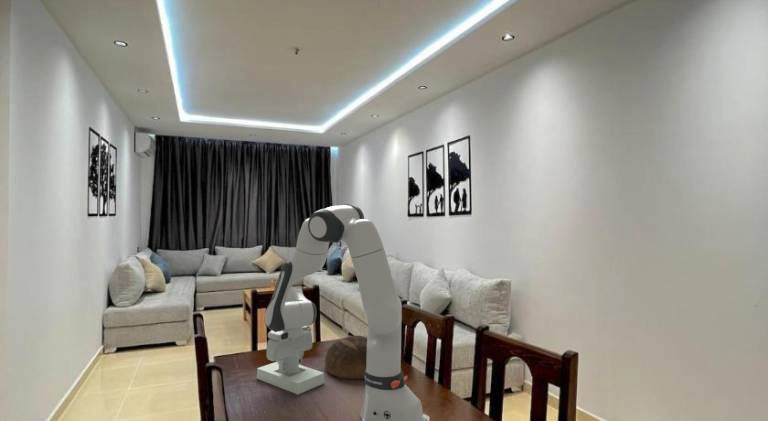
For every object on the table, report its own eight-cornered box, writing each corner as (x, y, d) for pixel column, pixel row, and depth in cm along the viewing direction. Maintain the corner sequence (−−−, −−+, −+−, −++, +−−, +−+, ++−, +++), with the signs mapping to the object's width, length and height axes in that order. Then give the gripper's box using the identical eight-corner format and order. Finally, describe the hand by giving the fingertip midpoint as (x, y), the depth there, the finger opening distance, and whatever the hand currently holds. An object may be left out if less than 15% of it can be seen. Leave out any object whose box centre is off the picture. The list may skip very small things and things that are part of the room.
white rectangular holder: (323, 383, 166) (324, 372, 166) (297, 394, 155) (298, 383, 155) (283, 369, 180) (283, 359, 180) (256, 378, 169) (257, 368, 169)
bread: (368, 355, 200) (369, 326, 200) (400, 374, 177) (401, 341, 177) (315, 364, 186) (315, 333, 186) (342, 386, 163) (343, 351, 163)
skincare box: (297, 375, 170) (298, 345, 170) (298, 380, 166) (299, 348, 166) (281, 377, 169) (282, 346, 169) (282, 381, 164) (282, 349, 165)
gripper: (305, 323, 178) (304, 357, 178) (264, 334, 161) (263, 371, 161) (316, 326, 174) (315, 361, 174) (275, 337, 157) (274, 376, 157)
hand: (290, 366), depth 167 cm, fingers closed on skincare box, 7 cm apart
